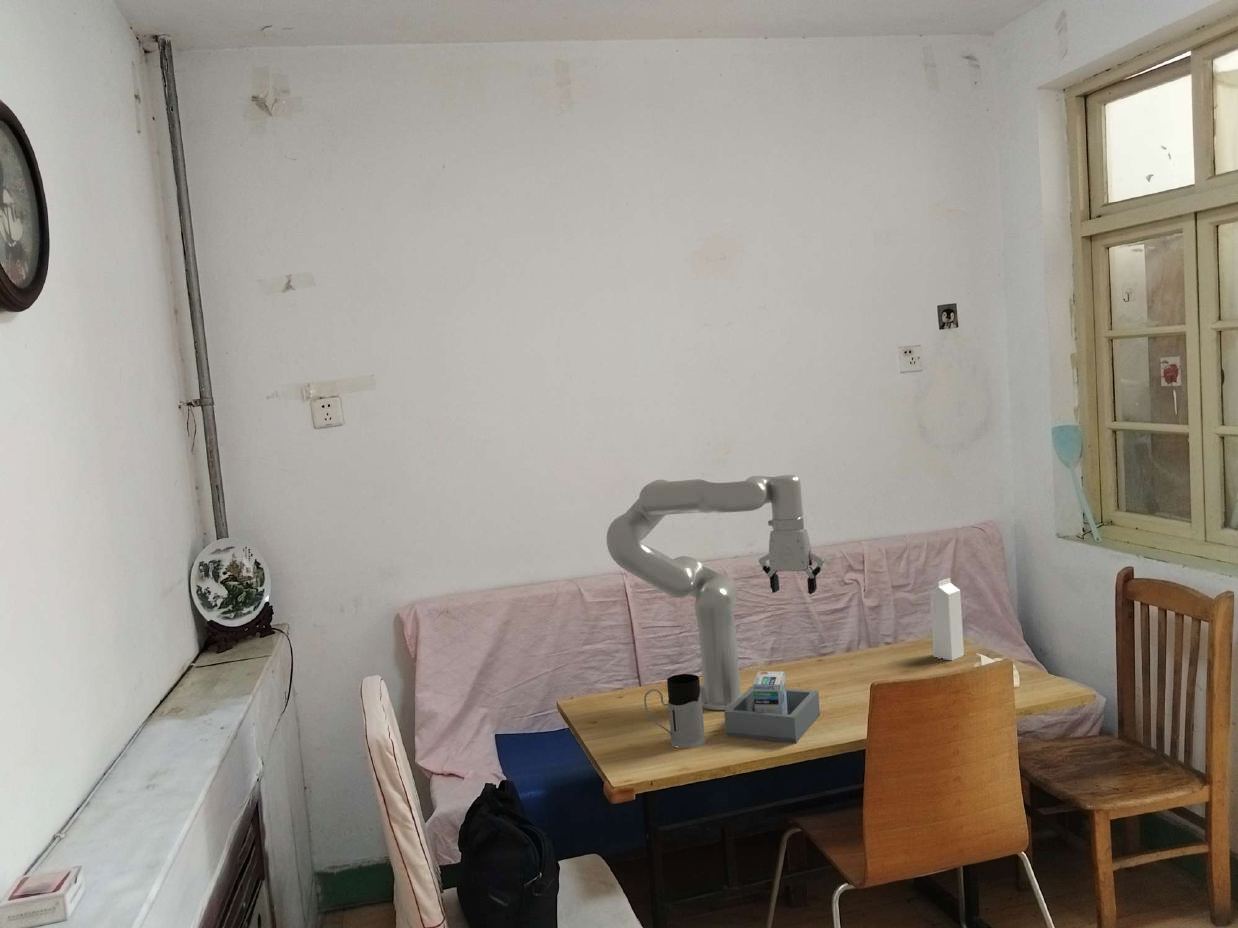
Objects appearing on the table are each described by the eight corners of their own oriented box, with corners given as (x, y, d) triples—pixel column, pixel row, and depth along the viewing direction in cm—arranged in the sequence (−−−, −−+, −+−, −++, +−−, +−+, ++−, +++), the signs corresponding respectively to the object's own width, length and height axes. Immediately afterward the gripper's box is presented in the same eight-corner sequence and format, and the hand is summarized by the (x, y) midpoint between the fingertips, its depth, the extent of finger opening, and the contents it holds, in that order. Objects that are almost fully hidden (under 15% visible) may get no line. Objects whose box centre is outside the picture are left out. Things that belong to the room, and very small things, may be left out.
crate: (726, 736, 232) (724, 711, 232) (753, 709, 249) (752, 686, 248) (796, 743, 224) (794, 717, 224) (819, 714, 241) (818, 690, 240)
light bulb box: (784, 729, 231) (780, 684, 230) (755, 729, 232) (751, 684, 231) (788, 713, 241) (785, 670, 240) (760, 713, 243) (757, 670, 242)
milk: (933, 657, 279) (928, 580, 277) (945, 652, 283) (940, 576, 281) (952, 660, 274) (947, 582, 272) (964, 655, 278) (959, 578, 276)
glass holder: (712, 743, 228) (707, 680, 227) (654, 755, 224) (648, 690, 223) (698, 731, 237) (693, 670, 235) (642, 742, 233) (637, 680, 231)
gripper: (750, 527, 248) (756, 594, 250) (816, 527, 239) (821, 596, 240) (762, 522, 255) (767, 587, 256) (826, 522, 245) (831, 589, 247)
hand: (793, 592), depth 248 cm, fingers open, 9 cm apart
